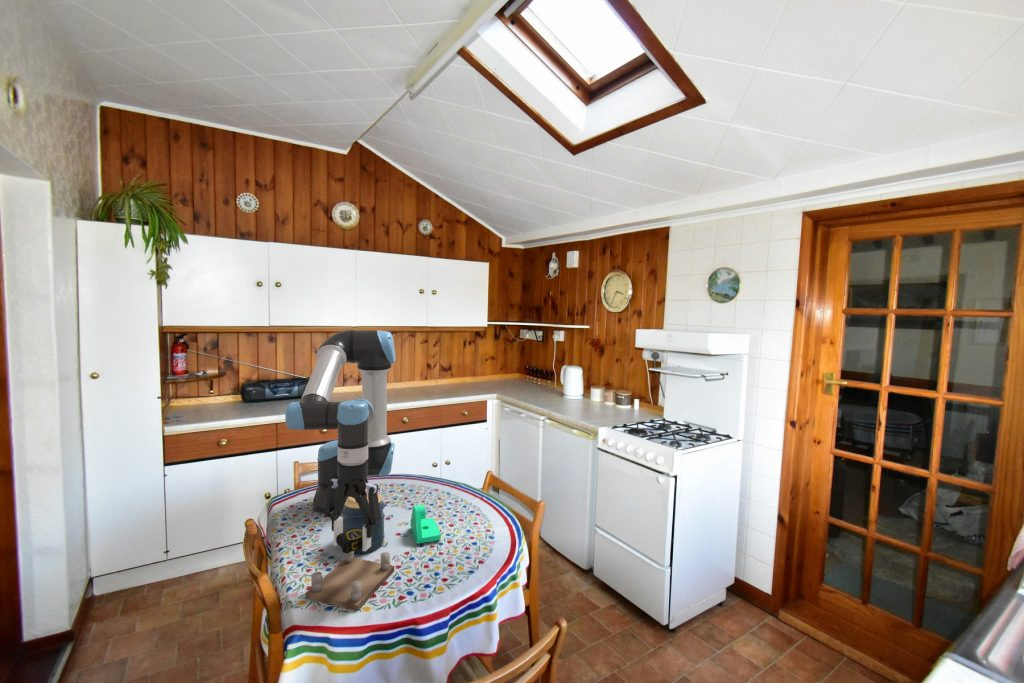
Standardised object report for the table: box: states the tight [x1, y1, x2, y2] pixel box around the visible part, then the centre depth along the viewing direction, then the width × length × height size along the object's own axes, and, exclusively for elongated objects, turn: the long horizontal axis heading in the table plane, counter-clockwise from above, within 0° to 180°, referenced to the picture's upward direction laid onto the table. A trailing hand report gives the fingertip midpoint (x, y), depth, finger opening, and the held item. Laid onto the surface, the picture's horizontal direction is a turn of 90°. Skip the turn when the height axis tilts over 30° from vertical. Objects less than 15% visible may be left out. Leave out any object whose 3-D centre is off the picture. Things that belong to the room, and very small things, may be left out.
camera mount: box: [410, 503, 442, 545], centre depth 143 cm, size 12×8×10 cm, turn 23°
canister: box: [341, 489, 386, 555], centre depth 136 cm, size 13×13×18 cm
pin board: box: [305, 551, 395, 612], centre depth 117 cm, size 15×17×6 cm
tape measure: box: [336, 529, 363, 555], centre depth 115 cm, size 7×7×4 cm
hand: (352, 545), depth 116 cm, fingers closed on tape measure, 8 cm apart
